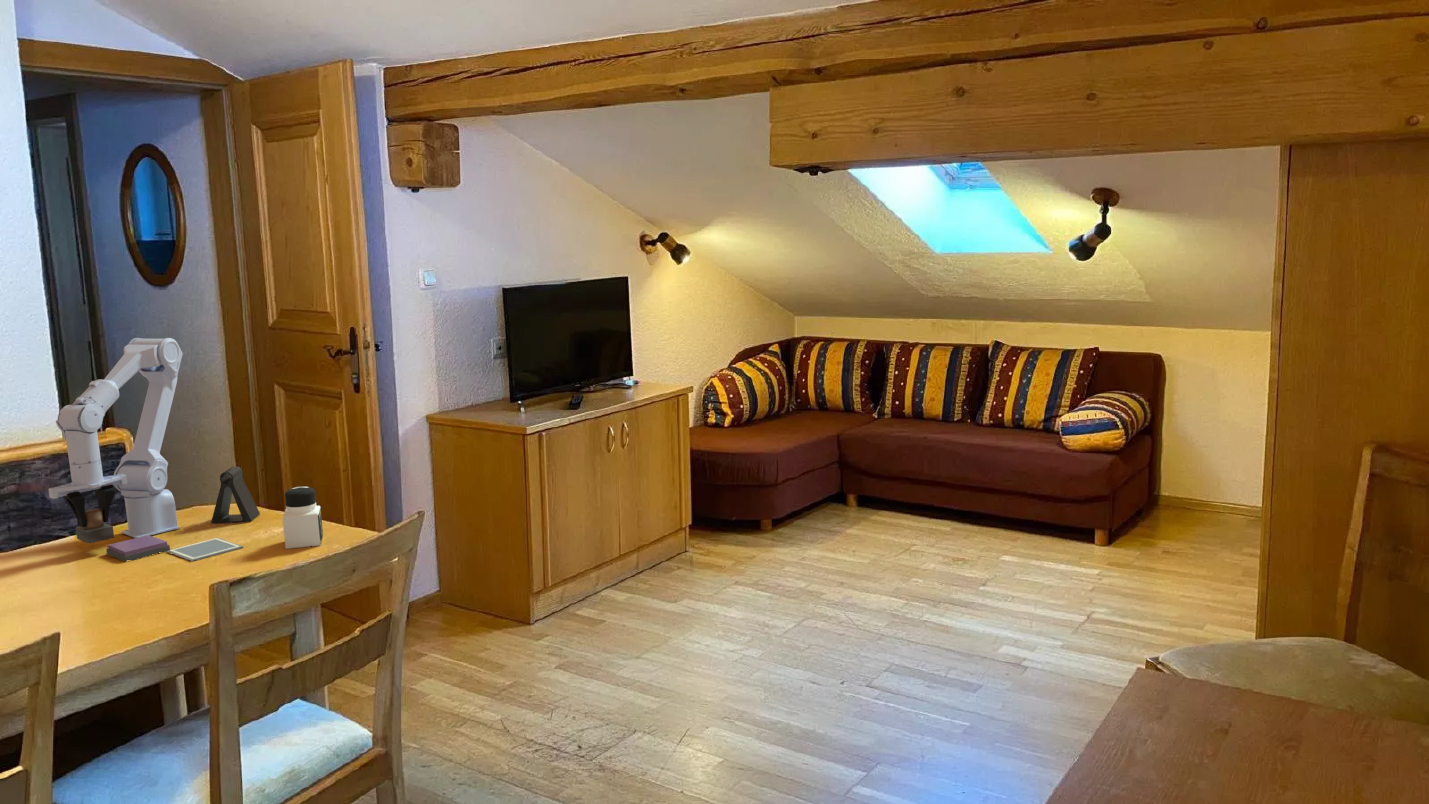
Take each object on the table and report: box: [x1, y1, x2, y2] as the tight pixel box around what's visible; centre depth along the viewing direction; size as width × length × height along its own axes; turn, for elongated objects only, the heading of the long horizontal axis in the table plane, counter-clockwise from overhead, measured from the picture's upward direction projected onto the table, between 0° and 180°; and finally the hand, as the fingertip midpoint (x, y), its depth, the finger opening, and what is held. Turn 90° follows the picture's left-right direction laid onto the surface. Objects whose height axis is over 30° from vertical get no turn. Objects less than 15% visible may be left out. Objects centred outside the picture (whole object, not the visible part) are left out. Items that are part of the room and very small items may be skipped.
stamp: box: [75, 508, 115, 544], centre depth 227 cm, size 5×6×6 cm
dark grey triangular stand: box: [210, 465, 261, 525], centre depth 249 cm, size 9×6×12 cm, turn 94°
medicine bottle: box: [282, 486, 324, 550], centre depth 229 cm, size 7×7×12 cm
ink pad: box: [105, 535, 171, 562], centre depth 226 cm, size 9×9×2 cm
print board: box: [165, 537, 244, 562], centre depth 227 cm, size 11×11×1 cm
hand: (93, 523), depth 227 cm, fingers closed on stamp, 4 cm apart
